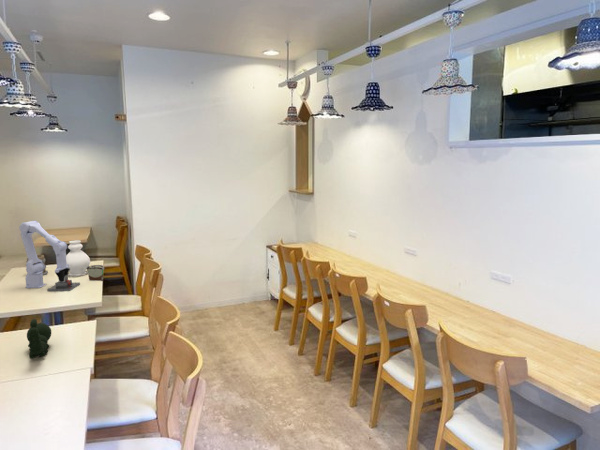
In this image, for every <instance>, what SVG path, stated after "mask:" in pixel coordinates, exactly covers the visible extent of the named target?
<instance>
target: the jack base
mask: <svg viewBox="0 0 600 450" xmlns="http://www.w3.org/2000/svg"><path fill="white" fill-rule="evenodd" d="M80 285H81V283H80V282H73V281H72V279H68V280H67V281H66V282H59V280H58V281H56V282H55V283H54V285H53V286H50V287H48V288H47V289H46V290H47V292H71V291H72V290H73V289H76V288H77V287H79V286H80Z"/></svg>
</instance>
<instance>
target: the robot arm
mask: <svg viewBox="0 0 600 450" xmlns="http://www.w3.org/2000/svg"><path fill="white" fill-rule="evenodd" d="M18 228H19V231H20V236H21V241H22V243H23V246H24V251H25V253H26V257H28V262H26V264H25V266H26V267H25V268H26V269H25V271H26V273H28V274H26V275H25V289H38V288H43V287H45V286H46V285H47V283H44V276H43V274H42V272H43V270H44V269H45V266H44V264H43V263H42V260H40V259H38V257H37V255H38V254H37V251H36V247H35V245H34V241H33V238H32V235H33V234H34V233H37V234H38V235H39V236H41V237H43V238H44V239H45V242H46V243H47V244H49V246H50V247H52V250H53V251H54V254H55V259H56V260H55V261H56V268H55V269H54V273H55V274H56V276H57V278H59V279H58V281H60V282H63V281H64V275H68V274H69V273H70V272H69V270H70V268H69V264H67V260H66V255H67V251H66V250H67V249H68V244H67V242H66V241H62V240H60V239H58V237H56V235H55V234H49V232H47V231H46V230H45V229H44V228H43V227H42V226H41V223H40V222H38V221H37V220H30V221H26V222H24V221H23V222H21V224H20V225H19V227H18ZM34 263H36V264H34ZM45 270H46V269H45Z"/></svg>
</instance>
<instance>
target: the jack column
mask: <svg viewBox="0 0 600 450" xmlns="http://www.w3.org/2000/svg"><path fill="white" fill-rule="evenodd" d="M57 278H58V277H57ZM67 280H69V276H68V275H64V281H63V282H66V281H67ZM58 281H59V278H58ZM59 282H60V281H59Z"/></svg>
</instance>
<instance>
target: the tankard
mask: <svg viewBox="0 0 600 450" xmlns="http://www.w3.org/2000/svg"><path fill="white" fill-rule="evenodd" d="M26 257H27V256H26ZM37 257H38V259H40V260H42V263H43V264H44V266H45V269H44V270H43V272H42V274H43V277H45V276H47V275H48V273H49V272H48V270H47V264H46V261H47V260H46V257H45V255H44V254H37ZM27 262H28V257H27V258H26V263H27ZM34 264H36V263H34ZM26 273H27V272H26ZM27 274H28V273H27ZM27 274H26V275H27Z"/></svg>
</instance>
